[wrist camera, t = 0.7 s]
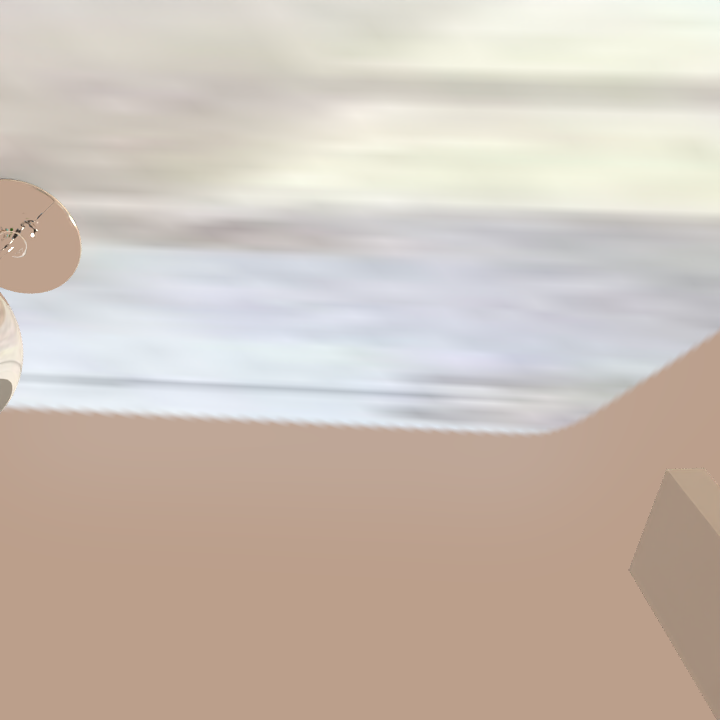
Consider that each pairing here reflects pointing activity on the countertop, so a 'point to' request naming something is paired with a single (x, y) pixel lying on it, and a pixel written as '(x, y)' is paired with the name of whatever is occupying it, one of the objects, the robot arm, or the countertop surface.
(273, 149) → the countertop surface
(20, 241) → the wineglass
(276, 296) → the countertop surface
